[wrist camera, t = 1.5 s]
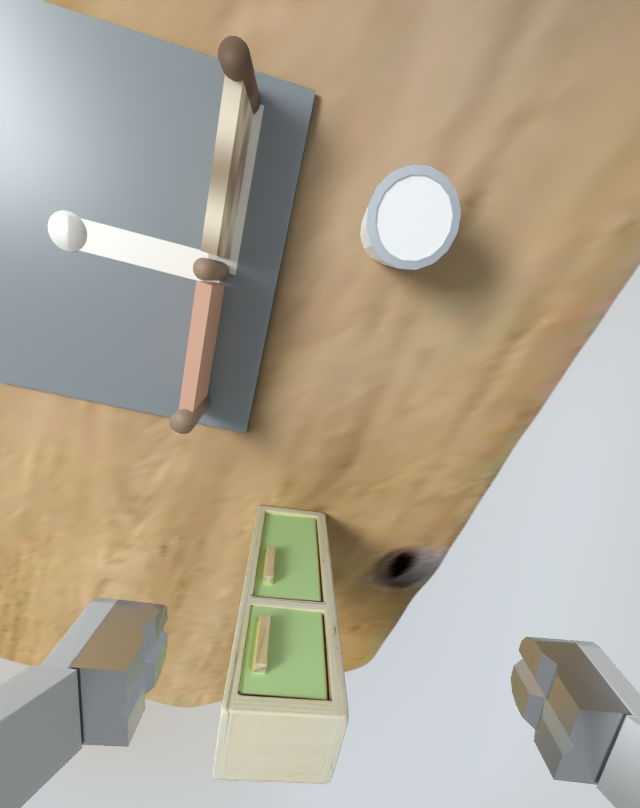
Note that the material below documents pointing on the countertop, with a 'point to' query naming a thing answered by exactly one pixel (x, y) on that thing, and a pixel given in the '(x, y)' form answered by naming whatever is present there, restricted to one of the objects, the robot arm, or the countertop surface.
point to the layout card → (130, 213)
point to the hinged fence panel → (200, 343)
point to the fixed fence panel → (230, 145)
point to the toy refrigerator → (284, 659)
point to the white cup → (411, 218)
